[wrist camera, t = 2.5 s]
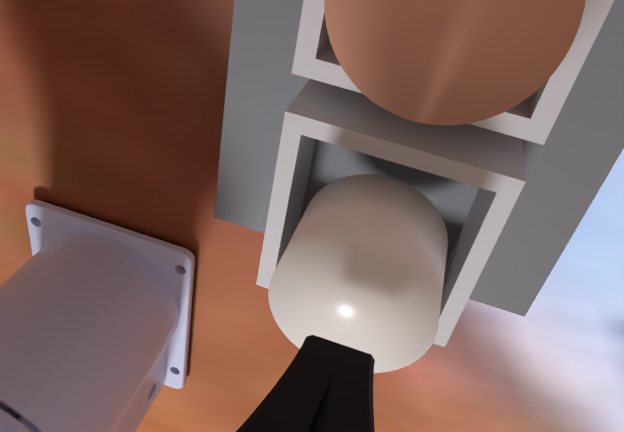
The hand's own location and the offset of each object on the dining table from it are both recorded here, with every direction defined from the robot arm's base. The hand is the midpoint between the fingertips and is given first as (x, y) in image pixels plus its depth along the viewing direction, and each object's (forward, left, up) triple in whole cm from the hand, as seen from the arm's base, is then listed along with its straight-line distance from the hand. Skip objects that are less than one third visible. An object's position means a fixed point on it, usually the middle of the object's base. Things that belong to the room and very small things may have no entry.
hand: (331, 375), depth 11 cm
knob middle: (+7, 0, -5) cm, 9 cm away
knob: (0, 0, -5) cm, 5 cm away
